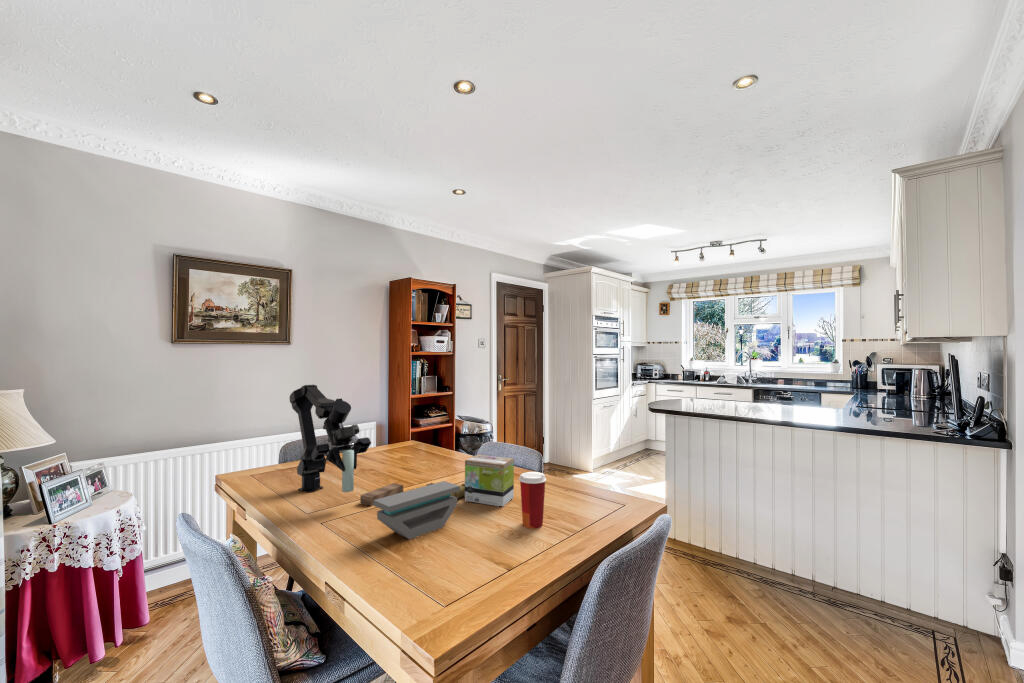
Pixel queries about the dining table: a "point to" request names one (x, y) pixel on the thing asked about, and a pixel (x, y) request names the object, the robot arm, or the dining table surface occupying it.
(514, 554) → the dining table surface
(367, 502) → the brown wooden block
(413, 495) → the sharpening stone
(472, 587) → the dining table surface
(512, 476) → the tea box
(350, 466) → the post
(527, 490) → the coffee cup
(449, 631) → the dining table surface
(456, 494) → the gavel
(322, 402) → the robot arm
